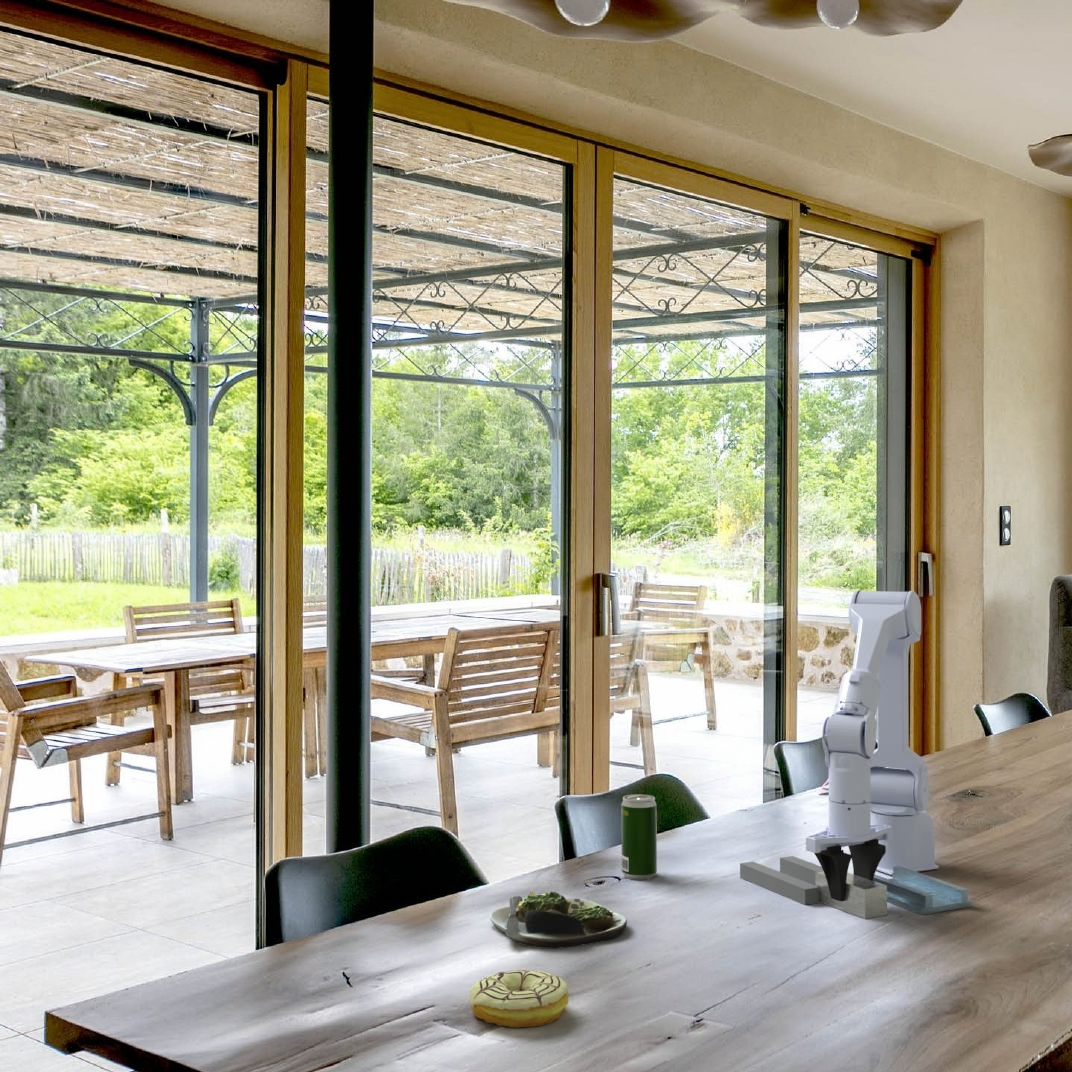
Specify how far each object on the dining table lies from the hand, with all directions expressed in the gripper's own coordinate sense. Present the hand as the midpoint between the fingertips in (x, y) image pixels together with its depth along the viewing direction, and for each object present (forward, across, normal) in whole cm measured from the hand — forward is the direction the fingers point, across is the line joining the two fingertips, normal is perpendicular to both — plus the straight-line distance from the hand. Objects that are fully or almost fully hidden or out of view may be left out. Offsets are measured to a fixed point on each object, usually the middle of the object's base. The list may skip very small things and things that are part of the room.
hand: (850, 897), depth 179 cm
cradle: (+1, -11, +1) cm, 11 cm away
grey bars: (+1, -1, -12) cm, 12 cm away
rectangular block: (+1, 0, 0) cm, 1 cm away
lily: (+2, -55, -61) cm, 82 cm away
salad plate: (+2, +40, -13) cm, 42 cm away
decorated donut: (+2, +59, +10) cm, 60 cm away
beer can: (+2, +16, -29) cm, 33 cm away
